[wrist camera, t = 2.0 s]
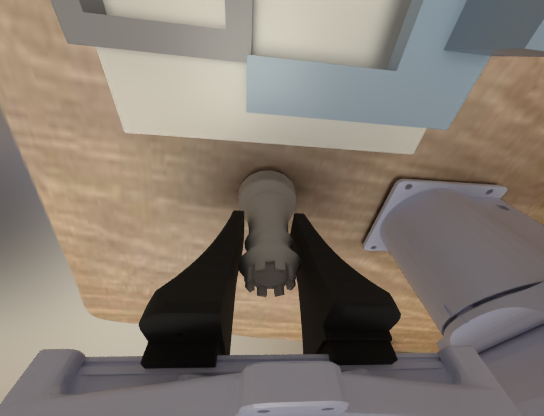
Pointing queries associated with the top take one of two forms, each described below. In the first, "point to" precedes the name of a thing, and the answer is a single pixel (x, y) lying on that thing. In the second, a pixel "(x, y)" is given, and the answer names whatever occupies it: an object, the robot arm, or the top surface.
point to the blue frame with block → (404, 67)
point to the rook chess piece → (268, 233)
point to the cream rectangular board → (233, 63)
